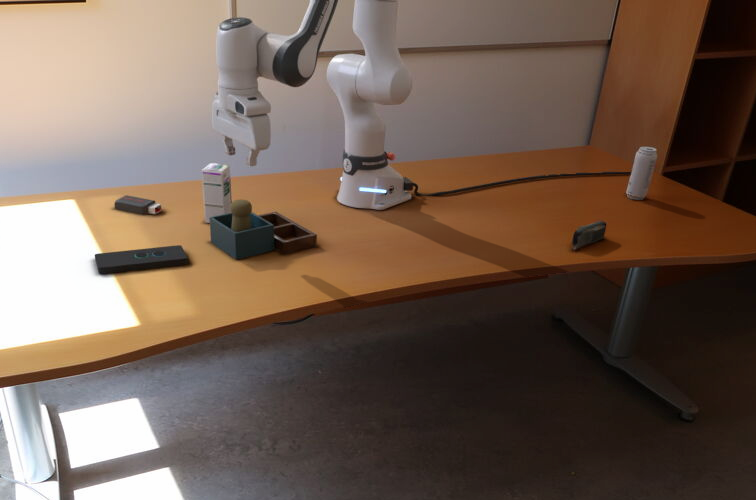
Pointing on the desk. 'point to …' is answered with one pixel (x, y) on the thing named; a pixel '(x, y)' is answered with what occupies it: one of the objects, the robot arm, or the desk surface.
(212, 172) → the syrup box
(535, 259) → the desk surface
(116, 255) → the smart home device
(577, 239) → the mobile phone
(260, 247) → the bin
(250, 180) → the desk surface
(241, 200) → the olive pepper mill
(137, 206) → the usb drive
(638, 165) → the energy drink can
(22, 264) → the desk surface
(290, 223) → the holder
